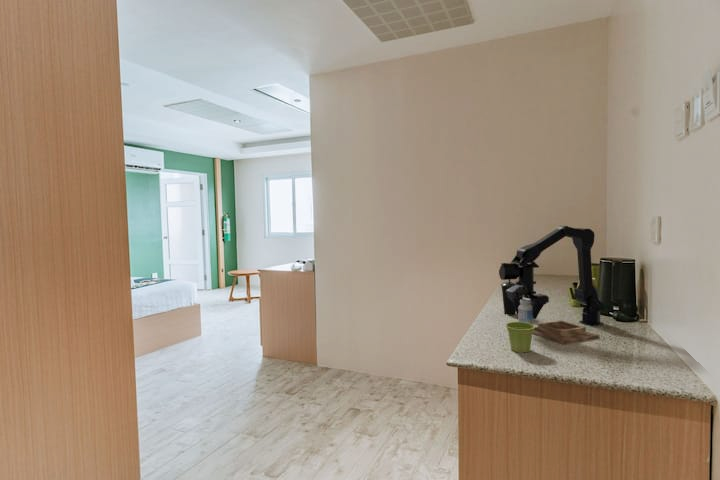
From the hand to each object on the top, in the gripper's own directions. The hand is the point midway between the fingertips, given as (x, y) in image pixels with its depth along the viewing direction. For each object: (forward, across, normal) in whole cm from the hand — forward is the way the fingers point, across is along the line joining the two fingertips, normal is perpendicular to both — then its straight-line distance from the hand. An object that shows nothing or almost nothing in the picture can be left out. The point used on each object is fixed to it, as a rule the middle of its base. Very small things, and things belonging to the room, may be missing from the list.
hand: (526, 316), depth 170 cm
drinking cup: (+5, -20, +9) cm, 22 cm away
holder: (+4, +14, +4) cm, 15 cm away
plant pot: (+5, +21, -22) cm, 31 cm away
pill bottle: (+5, 0, 0) cm, 5 cm away
